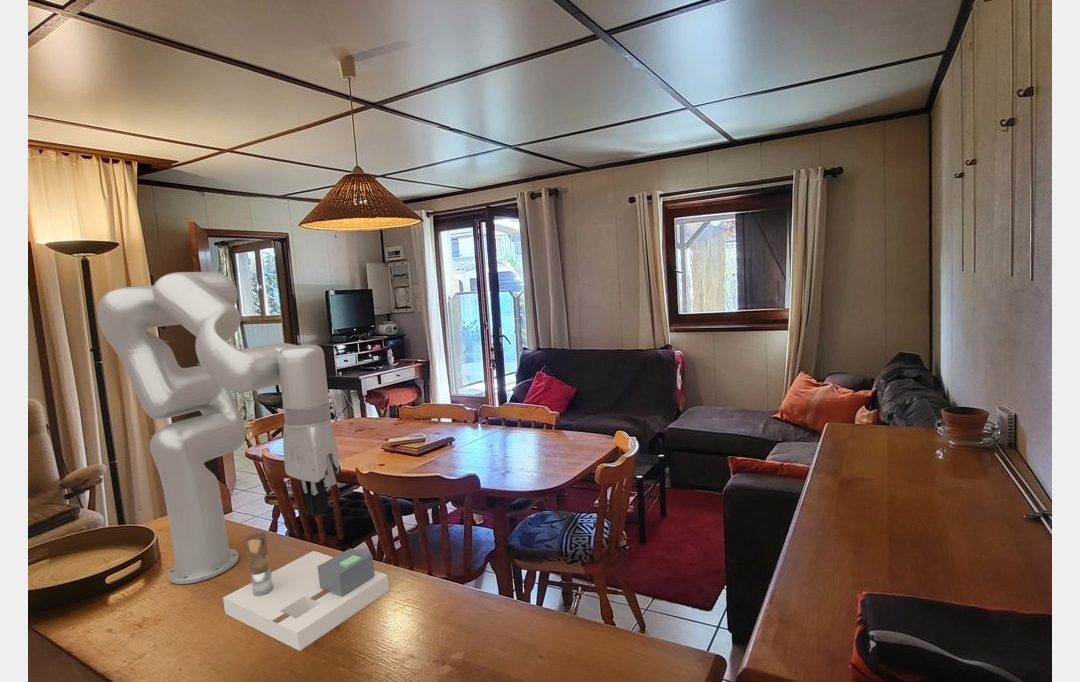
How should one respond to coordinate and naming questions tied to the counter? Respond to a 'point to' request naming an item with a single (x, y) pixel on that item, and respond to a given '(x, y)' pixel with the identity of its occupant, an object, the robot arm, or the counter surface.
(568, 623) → the counter surface
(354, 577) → the block
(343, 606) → the white flat rectangular board
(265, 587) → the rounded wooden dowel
